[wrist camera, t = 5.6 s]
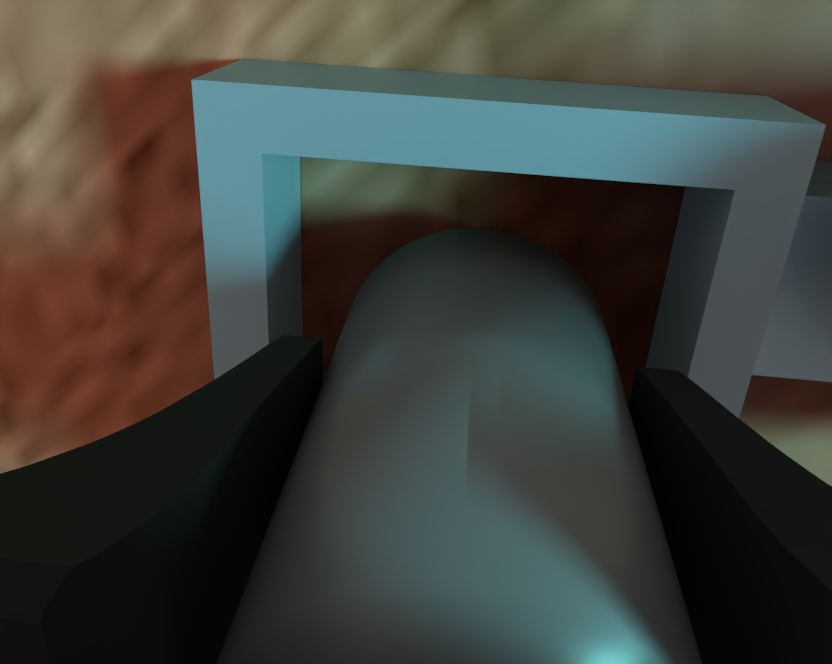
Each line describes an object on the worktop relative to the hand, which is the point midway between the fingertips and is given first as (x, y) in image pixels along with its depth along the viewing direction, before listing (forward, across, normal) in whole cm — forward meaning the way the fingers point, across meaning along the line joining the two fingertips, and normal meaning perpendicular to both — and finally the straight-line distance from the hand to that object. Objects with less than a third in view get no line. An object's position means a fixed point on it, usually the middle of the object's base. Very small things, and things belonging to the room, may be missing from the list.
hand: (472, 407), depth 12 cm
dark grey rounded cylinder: (+2, 0, 0) cm, 2 cm away
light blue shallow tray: (+3, 0, 0) cm, 3 cm away
